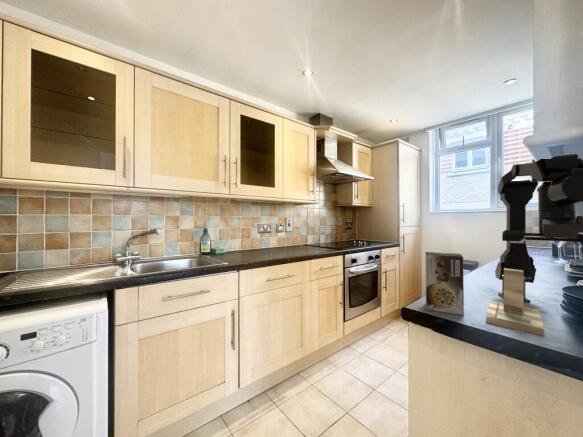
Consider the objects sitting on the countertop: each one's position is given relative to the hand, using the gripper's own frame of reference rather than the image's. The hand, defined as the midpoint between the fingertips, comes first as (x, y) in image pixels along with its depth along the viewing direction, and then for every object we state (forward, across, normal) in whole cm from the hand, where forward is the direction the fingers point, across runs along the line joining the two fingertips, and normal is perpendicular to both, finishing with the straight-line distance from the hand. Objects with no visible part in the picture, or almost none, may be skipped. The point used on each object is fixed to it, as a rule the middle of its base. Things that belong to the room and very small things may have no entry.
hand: (558, 274), depth 54 cm
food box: (+13, -22, -2) cm, 26 cm away
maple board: (+13, -8, +4) cm, 16 cm away
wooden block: (+11, -8, +6) cm, 15 cm away
